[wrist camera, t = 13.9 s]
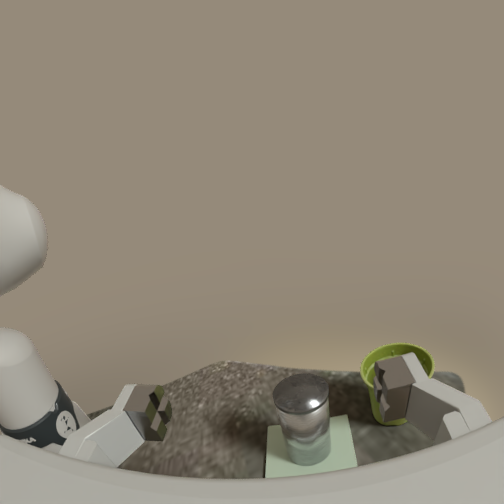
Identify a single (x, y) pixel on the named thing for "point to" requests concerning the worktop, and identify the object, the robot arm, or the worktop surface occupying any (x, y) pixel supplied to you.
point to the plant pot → (386, 353)
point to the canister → (304, 418)
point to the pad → (337, 460)
